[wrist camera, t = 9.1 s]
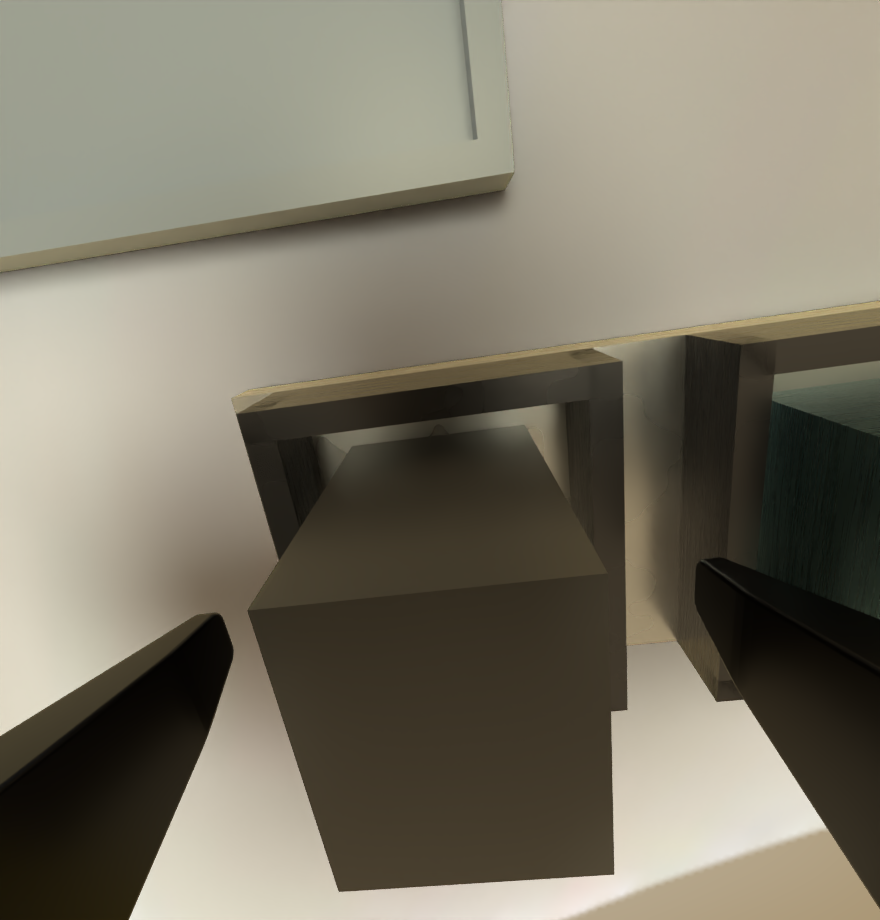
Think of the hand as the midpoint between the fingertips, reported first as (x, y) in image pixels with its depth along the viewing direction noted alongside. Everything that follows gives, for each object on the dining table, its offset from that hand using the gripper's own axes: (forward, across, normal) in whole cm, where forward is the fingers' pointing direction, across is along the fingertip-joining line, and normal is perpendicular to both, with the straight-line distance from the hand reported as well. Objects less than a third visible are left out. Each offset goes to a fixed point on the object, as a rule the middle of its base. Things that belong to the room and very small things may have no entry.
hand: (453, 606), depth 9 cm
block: (+3, 0, 0) cm, 3 cm away
